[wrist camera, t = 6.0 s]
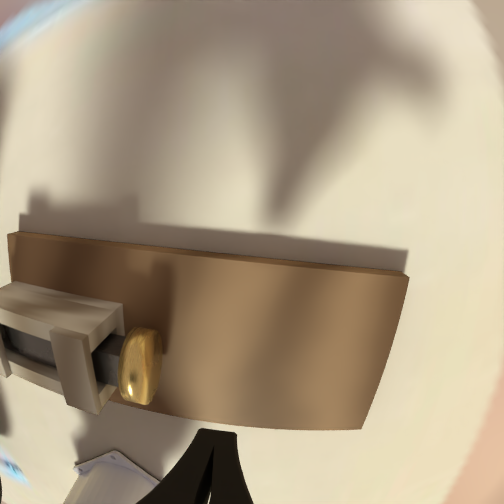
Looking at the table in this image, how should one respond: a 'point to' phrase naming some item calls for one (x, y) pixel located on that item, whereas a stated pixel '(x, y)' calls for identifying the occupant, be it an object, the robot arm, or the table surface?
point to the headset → (0, 491)
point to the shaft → (106, 359)
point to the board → (206, 329)
